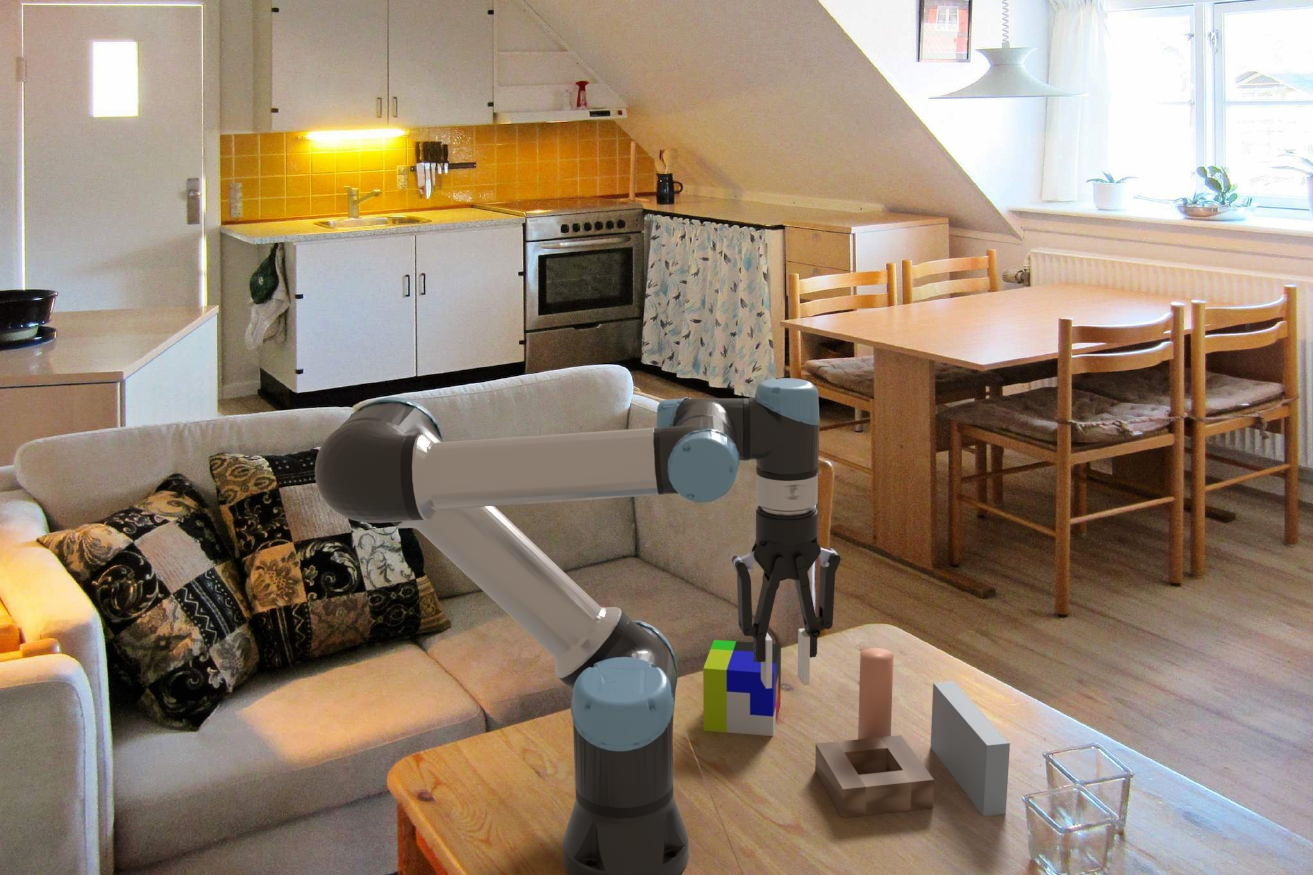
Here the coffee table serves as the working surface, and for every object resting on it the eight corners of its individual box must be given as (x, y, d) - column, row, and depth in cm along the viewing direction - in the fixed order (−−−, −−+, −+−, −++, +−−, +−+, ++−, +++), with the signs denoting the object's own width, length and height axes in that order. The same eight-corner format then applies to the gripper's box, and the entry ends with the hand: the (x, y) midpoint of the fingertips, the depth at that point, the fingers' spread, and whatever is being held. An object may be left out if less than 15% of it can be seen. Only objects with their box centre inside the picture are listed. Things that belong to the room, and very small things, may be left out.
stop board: (983, 817, 162) (987, 745, 160) (930, 748, 179) (933, 682, 177) (1005, 814, 163) (1010, 743, 160) (950, 746, 180) (953, 680, 177)
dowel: (863, 756, 178) (866, 662, 174) (853, 740, 182) (855, 649, 178) (895, 753, 178) (898, 660, 175) (884, 737, 183) (887, 646, 179)
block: (842, 817, 162) (843, 789, 161) (815, 770, 174) (815, 743, 173) (932, 807, 164) (934, 779, 163) (900, 761, 176) (901, 735, 175)
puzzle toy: (773, 737, 183) (773, 673, 181) (703, 732, 185) (703, 668, 183) (780, 706, 193) (781, 644, 190) (714, 701, 195) (714, 639, 192)
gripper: (724, 520, 152) (724, 701, 158) (864, 510, 155) (859, 688, 161) (711, 501, 159) (712, 675, 165) (845, 492, 162) (841, 663, 168)
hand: (784, 681), depth 163 cm, fingers open, 4 cm apart
